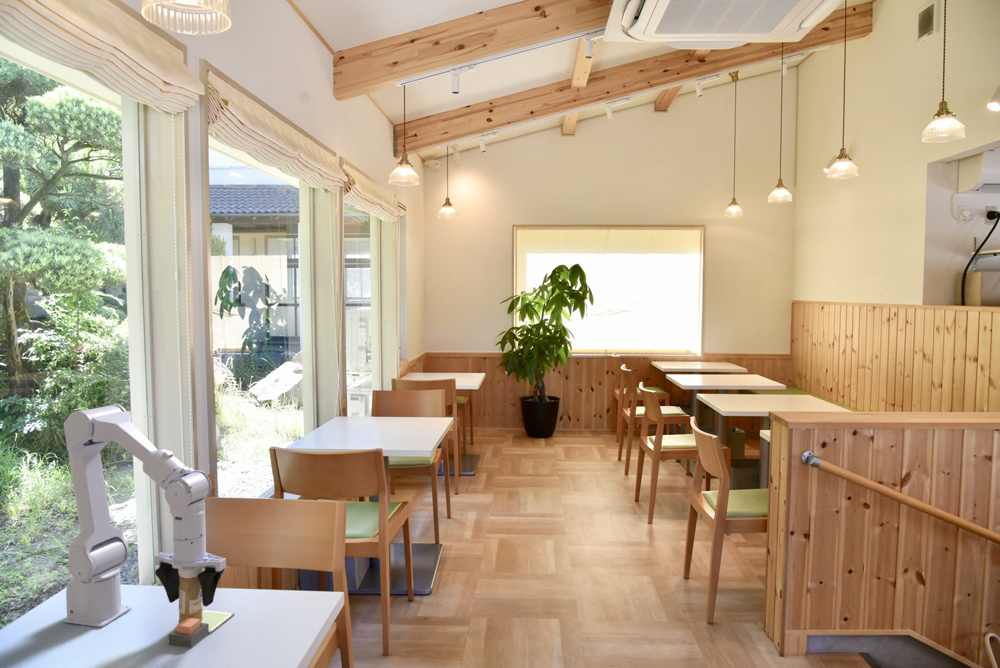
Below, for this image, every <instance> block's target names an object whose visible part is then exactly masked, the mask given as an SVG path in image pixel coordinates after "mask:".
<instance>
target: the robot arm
mask: <svg viewBox="0 0 1000 668" xmlns="http://www.w3.org/2000/svg"><path fill="white" fill-rule="evenodd" d="M66 418H67V419H65V421H64V423H63V428H64V429H63V431H64V437H65V444H66V449H67V453H68V460H69V466H70V471H71V473H70V474H71V479H72V486H73V491H74V498H75V504H76V512H77V517H78V524H79V530H80V531H79V533H78V535H76V537H75V538H74V539H73V541H72V542H71V543H70V545H68V551H69V558H68V561H67V567H68V569H67V570H68V572H69V574H70V575H71V579H70V580H69V581H68V583H67V586H66V590H65V595H66V597H65V599H66V600H65V601H66V618H64V619H63V623H67V624H75V625H81V626H83V625H84V626H89V627H90V626H91V627H97V628H102V627H105V626H106V625H108V624H109V623H111V622H112V621H114V620H116V619H117V618H119V617H120V616H123V615H124V614H125V613H127V612H129V611H130V610H132V606H130V605H124V604H123V605H122V589H121V587H122V586H121V570H123V569H124V564H125V563H126V562H127V561H128V559H129V557H130V556H129V555H130V548H129V545H128V543H127V540H126V539H125V537H124V531H123V530H122V529H121V528H119V527H117V526H114V525H112V522H111V516H110V509H109V504H108V497H107V489H106V484H105V477H104V470H103V464H102V458H101V457H102V456H101V451H102V450H103V449H104V448H105V446H106V445H107V444H108V443H109V442H115V444H118V445H119V446H120V447H122V448H123V449H124V450H126V451H127V452H128V453H130V454H131V455H132V456H134V457H135V458H137V460H139V461H140V462H142V471H143V473H144V474H145V475H147V476H148V477H149V478H150V479H151V480H153V482H154V483H155V484H157V485H158V486H159V487H160V488H161V489H162V490H163V491H164V492H163V493H164V498H165V501H166V502H167V504H168V506H169V510H170V511H169V513H170V514H171V517H172V530H173V531H172V534H173V535H172V537H173V539H172V540H173V544H172V545H173V551H161V552H159V553H157V554H155V555H154V566H159V567H158V568H156V569H155V570H154V571H155V572H154V573H155V576H156V577H157V578H158V579H159V581H160V582H161V583H162V586H163V588H164V590H165V593H166V596H167V599H168V603H174V602H175V601H177V600H179V573H178V569H181V568H183V567H196V568H204V571H203V572H201V573H200V574H198V575H197V577H198V579H199V581H200V585H201V589H202V602H203V606H202V607H206V608H207V607H208V606H209V605H211V604H212V603H214V600H215V594H216V590H217V587H218V585H219V581H220V579H221V577H222V575H223V574H224V572H225V569H226V568H227V558H226V557H223V556H218V555H214V554H212V553H209V552H207V546H206V545H207V542H206V541H207V538H206V535H207V533H206V530H207V529H206V498H207V497H208V496H209V495H210V493H211V492H212V482H211V479H210V478H209V476H208V474H206V472H205V471H203V470H195V469H193V468H190V467H188V466H187V465H185V463H184V462H182V461H181V460H180V459H179V458H178V457H176V456H175V453H174V452H173V451H171V450H168V449H166V448H165V449H164V448H163V449H158V448H157V447H156V446H155V445H154V444H153V443H152V442H151V441H150V440H149V439H148V438H147V437H146V436H145V434H143V432H142V431H141V430H139V429H138V428H137V427H136V426H135V425H134V423H132V421H133V419H132V414H131V413H130V412H129V411H127V410H126V409H125V407H124V406H123V405H120V404H119V403H114V404H110V405H106V406H100V407H95V408H90V409H86V410H85V409H84V410H75V411H73V412H72V413H71V414H69V416H68V417H66Z"/></svg>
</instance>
